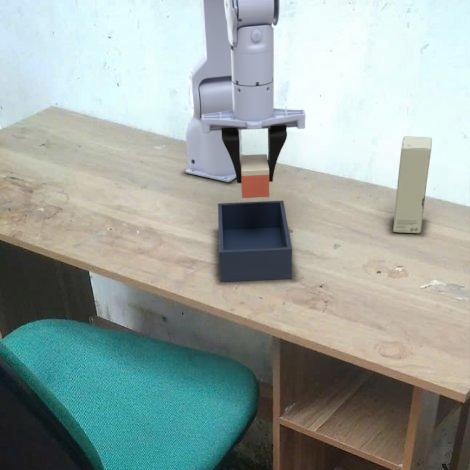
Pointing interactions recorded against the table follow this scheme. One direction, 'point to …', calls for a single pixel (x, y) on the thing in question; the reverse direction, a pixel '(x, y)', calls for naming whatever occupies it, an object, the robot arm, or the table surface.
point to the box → (412, 184)
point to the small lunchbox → (254, 176)
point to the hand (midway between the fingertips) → (254, 179)
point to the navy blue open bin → (254, 241)
